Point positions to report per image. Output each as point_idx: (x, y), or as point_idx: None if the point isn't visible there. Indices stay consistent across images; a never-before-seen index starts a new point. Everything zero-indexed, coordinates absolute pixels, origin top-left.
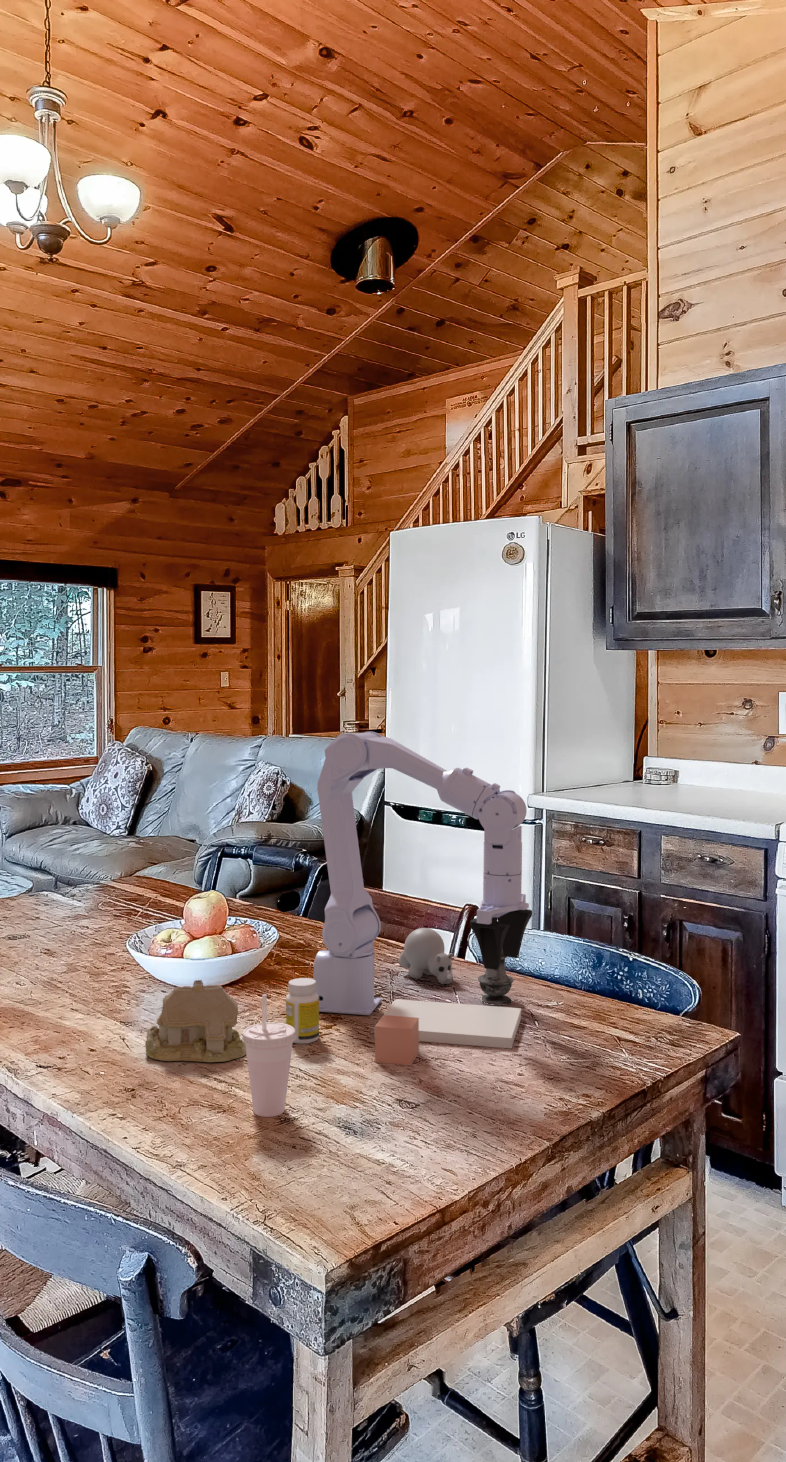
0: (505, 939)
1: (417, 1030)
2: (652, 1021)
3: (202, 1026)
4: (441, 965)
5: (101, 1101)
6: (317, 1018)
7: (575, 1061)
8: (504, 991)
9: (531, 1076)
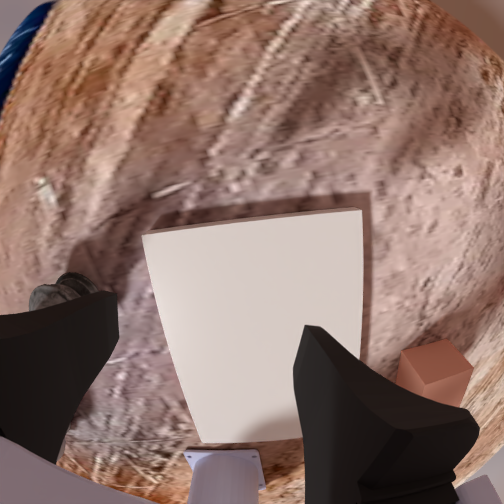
0: (86, 371)
1: (425, 370)
2: (96, 3)
3: None
4: None
5: (481, 460)
6: None
7: (376, 77)
8: (75, 292)
9: (460, 152)
